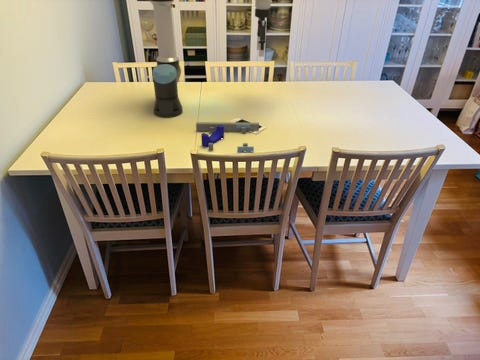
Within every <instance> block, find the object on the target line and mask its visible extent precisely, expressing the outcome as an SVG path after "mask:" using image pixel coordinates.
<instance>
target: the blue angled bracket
mask: <svg viewBox="0 0 480 360" xmlns="http://www.w3.org/2000/svg"><path fill="white" fill-rule="evenodd" d="M221 138H223V139H225V132H224V127H223V126H221V125H218V126H217V129H216V130H215V131H213V132H212V134H209V133H208V134H207V133H205V132H201V146H202V147H204V148H206V147H208V148H209V143H213V145H215V144H217V143H218V142H219V140H220V141H222V140H221ZM217 141H218V142H217ZM214 143H215V144H214Z"/></svg>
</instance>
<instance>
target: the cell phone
mask: <svg viewBox="0 0 480 360" xmlns="http://www.w3.org/2000/svg"><path fill="white" fill-rule="evenodd" d="M229 122H239V123H253V122H251V121H249V120H247V119H244V118H242V117H236V118H235V119H231V121H229ZM266 129H267V127H266V126H263V125H260V124H259V131H249V132H248V133H250V134H253V135H257V134H259V133H261V132H263V131H264V130H266Z"/></svg>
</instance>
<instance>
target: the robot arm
mask: <svg viewBox="0 0 480 360" xmlns="http://www.w3.org/2000/svg"><path fill="white" fill-rule="evenodd" d="M148 1H149V2H150V3H151V4H152V7H153V8H152V9H153V16H154V17H153V18H154V25H155V33H156V41H157V49H158V50H157V51H158V56H157V58H156V66H155V67H153V69H152V79H153V81H152V82H153V89H154V96H155V101H154V105H153V114H154V115H155V116H157V117H160V118H174V117H178V116H180V115H182V114H183V106H182V103H181V101H180V98H179V94H178V83H179V79H180V77H181V74H182V69H181V66H180V59H179V57H178V56H177V55H176V48H175V47H176V46H175V44H176V43H175V35H174V24H173V13H172V4H173V3H174V1H175V0H148ZM272 3H273V1H272V0H255V3H254V6H255V9H254V17H255V18H258V20H257V30H256V31H257V33H256V36H257V37H256V50H257V51H258V57H261V58H262V57H265V48H266V42H267V41H266V37H267V35H266V34H267V32H266V31H267V30H266V29H267V20H266V19H267V18H270V17H271V9H270V8H272V7H271V5H272Z"/></svg>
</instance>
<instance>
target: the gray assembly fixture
mask: <svg viewBox="0 0 480 360" xmlns="http://www.w3.org/2000/svg"><path fill="white" fill-rule="evenodd" d="M218 125H221V126H223V127H224V133H240V134H241V135H246V133H250V132H249V131H259V125H260V122H252V123H239V122H230V121H228V122H227V121H225V122H221V121H220V122H219V121H218V122H215V121H214V122H213V121H210V122H208V121H207V122H203V121H202V122H197V121H196V122H195V129H196V132H197V133H199V132H200V133H205V132H206V133H209V135H211V134H212V132H213V131H215V130H216V129H217V126H218ZM254 147H255V146H253V145H252V146H249V143H247V142H243V143H242V146H237V148H236V149H237V153H243V152H242V151H246V152H245V153H252V152H251V151H253V152H255V151H254ZM208 151H214V144H213V143H209V147H208ZM248 151H249V152H248Z"/></svg>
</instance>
